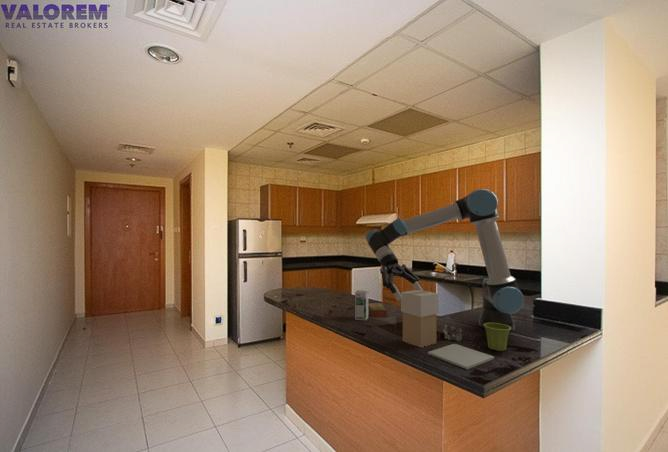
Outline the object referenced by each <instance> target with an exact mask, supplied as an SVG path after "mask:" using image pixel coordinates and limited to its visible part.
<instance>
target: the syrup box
mask: <svg viewBox="0 0 668 452" xmlns="http://www.w3.org/2000/svg"><path fill="white" fill-rule="evenodd" d="M354 294H355V295H354V297H355V298H354V302H355V303H354V306H355V307H354V308H355V309H354V311H355V312H354V314H355V315H354V319H355V321H364V322H366V321H367V320H368V319H369V312H368V303H369V290H361V289H356V291H355V293H354Z"/></svg>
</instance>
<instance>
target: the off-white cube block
mask: <svg viewBox="0 0 668 452" xmlns="http://www.w3.org/2000/svg"><path fill="white" fill-rule="evenodd" d="M400 294H401V295H402V298H401V299H400V312H402V313H403V312H404V313H408V314H411V315H415V316H418V317H424V316H429V315H433V314H436V315H437V314H439V293H438V292H431V291H429V290H423V291H422V290H415V289H413V290H406V291H401V292H400Z"/></svg>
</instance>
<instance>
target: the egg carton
mask: <svg viewBox="0 0 668 452" xmlns="http://www.w3.org/2000/svg"><path fill="white" fill-rule="evenodd" d="M442 331H443V333H444V339H445V340H447V339H448V341H451V340H453V341H456V342H459V341H462V339H463V335H462V333H463V330H462V328H461V327H459V328H457V326H450V325H447V324H445V325H444V326H443V330H442Z"/></svg>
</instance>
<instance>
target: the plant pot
mask: <svg viewBox="0 0 668 452" xmlns="http://www.w3.org/2000/svg"><path fill="white" fill-rule="evenodd" d="M484 326H485V328H484V329H485V333H486V339H487V341H486V342H487V347H488V348H489V349H490V350H495V351H497V352H504V351H506V350H507V345H508V338H509V334H510V332H511V331H510V330H511V327H509V326H507V325H504V324H499V323H485V324H484Z"/></svg>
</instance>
